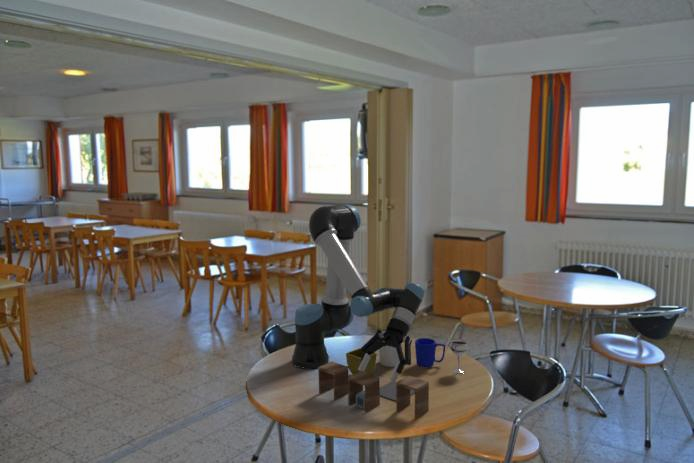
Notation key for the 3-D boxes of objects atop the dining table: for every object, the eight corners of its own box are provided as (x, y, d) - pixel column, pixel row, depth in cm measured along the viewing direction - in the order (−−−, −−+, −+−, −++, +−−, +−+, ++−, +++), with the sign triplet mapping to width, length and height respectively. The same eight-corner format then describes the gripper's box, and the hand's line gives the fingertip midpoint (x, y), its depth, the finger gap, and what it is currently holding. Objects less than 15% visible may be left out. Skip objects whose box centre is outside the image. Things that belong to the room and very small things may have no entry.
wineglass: (471, 373, 208) (471, 343, 206) (455, 375, 206) (456, 345, 204) (461, 367, 214) (462, 338, 213) (446, 369, 212) (447, 340, 210)
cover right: (396, 411, 178) (396, 382, 177) (408, 403, 183) (408, 375, 182) (416, 418, 173) (416, 388, 171) (428, 410, 178) (428, 381, 176)
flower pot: (361, 369, 214) (361, 347, 213) (377, 375, 208) (377, 352, 207) (345, 375, 208) (345, 353, 207) (361, 381, 202) (361, 358, 200)
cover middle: (348, 405, 183) (348, 377, 181) (361, 398, 188) (361, 370, 186) (366, 412, 177) (366, 383, 176) (379, 404, 182) (379, 376, 181)
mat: (371, 392, 192) (371, 391, 192) (391, 382, 201) (391, 381, 201) (398, 402, 184) (398, 401, 184) (418, 391, 193) (418, 390, 193)
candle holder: (407, 364, 218) (407, 335, 217) (388, 369, 213) (388, 340, 211) (391, 356, 226) (391, 329, 225) (373, 362, 221) (373, 333, 219)
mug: (444, 370, 211) (445, 345, 210) (414, 368, 214) (414, 344, 212) (445, 362, 219) (445, 339, 218) (415, 360, 222) (415, 337, 220)
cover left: (318, 393, 192) (318, 367, 190) (332, 387, 197) (331, 361, 196) (335, 400, 186) (334, 372, 185) (348, 393, 192) (348, 366, 190)
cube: (355, 405, 182) (355, 394, 182) (363, 401, 185) (363, 390, 185) (364, 409, 180) (364, 398, 179) (372, 405, 183) (372, 393, 182)
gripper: (434, 334, 187) (410, 390, 178) (377, 322, 203) (353, 372, 194) (426, 323, 182) (401, 380, 173) (368, 311, 198) (343, 363, 189)
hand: (375, 376), depth 183 cm, fingers open, 13 cm apart
